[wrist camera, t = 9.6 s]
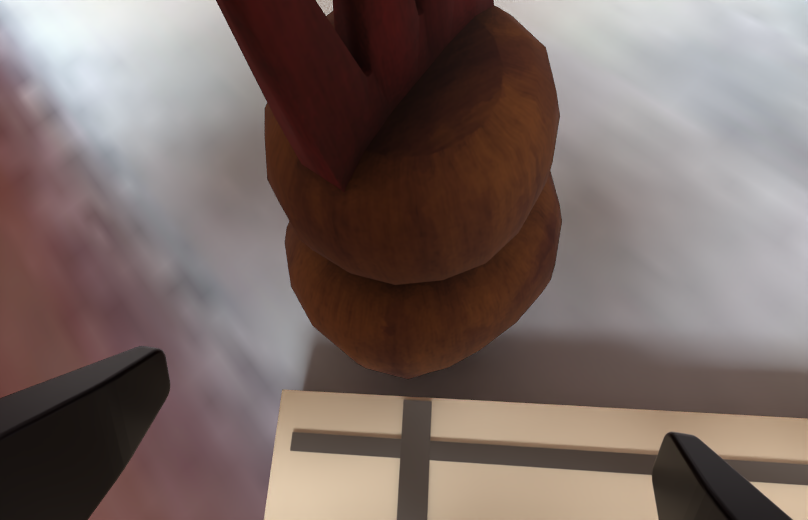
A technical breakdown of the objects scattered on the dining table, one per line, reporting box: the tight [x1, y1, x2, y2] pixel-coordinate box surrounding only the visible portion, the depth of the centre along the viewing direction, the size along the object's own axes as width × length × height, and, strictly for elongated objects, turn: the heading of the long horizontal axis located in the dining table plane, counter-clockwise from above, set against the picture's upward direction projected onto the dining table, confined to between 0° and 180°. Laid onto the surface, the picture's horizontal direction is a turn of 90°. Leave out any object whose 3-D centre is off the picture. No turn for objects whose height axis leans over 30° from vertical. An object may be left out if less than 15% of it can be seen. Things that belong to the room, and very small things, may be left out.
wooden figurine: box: [216, 0, 562, 379], centre depth 10 cm, size 7×6×15 cm
